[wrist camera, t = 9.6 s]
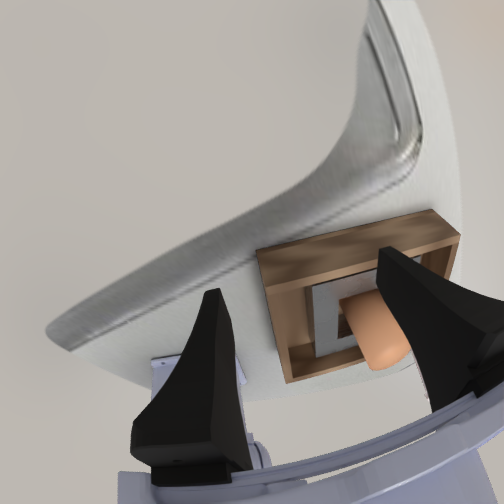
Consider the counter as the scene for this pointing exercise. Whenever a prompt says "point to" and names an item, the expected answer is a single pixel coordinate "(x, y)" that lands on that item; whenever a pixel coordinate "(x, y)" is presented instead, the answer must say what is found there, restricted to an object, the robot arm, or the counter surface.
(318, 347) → the socket plate
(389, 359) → the peg
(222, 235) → the counter surface
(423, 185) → the counter surface
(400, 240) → the socket box
